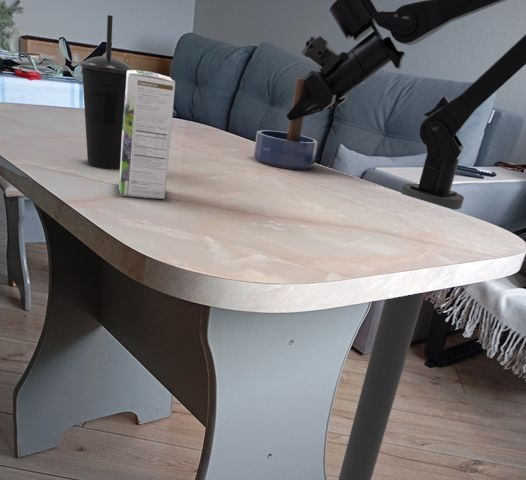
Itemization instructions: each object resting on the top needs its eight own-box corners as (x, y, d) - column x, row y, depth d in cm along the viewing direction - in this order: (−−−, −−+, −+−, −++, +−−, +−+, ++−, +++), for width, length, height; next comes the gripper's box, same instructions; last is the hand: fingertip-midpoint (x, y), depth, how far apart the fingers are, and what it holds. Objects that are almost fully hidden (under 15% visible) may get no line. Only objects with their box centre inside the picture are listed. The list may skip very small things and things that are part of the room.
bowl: (279, 156, 125) (283, 130, 123) (324, 169, 119) (329, 142, 117) (241, 157, 117) (244, 130, 115) (287, 171, 111) (292, 143, 108)
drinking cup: (140, 167, 95) (149, 22, 86) (109, 173, 88) (115, 16, 79) (100, 157, 97) (104, 14, 88) (67, 161, 91) (68, 8, 82)
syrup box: (118, 185, 83) (123, 67, 76) (162, 189, 84) (171, 75, 78) (119, 196, 78) (126, 71, 71) (166, 200, 79) (176, 79, 73)
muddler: (296, 157, 120) (309, 79, 113) (300, 160, 117) (314, 80, 111) (280, 155, 119) (292, 76, 113) (284, 158, 116) (297, 78, 110)
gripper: (343, 25, 115) (277, 79, 122) (326, 17, 98) (250, 79, 105) (375, 78, 117) (309, 128, 124) (363, 78, 100) (287, 136, 107)
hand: (289, 117), depth 115 cm, fingers closed on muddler, 2 cm apart
